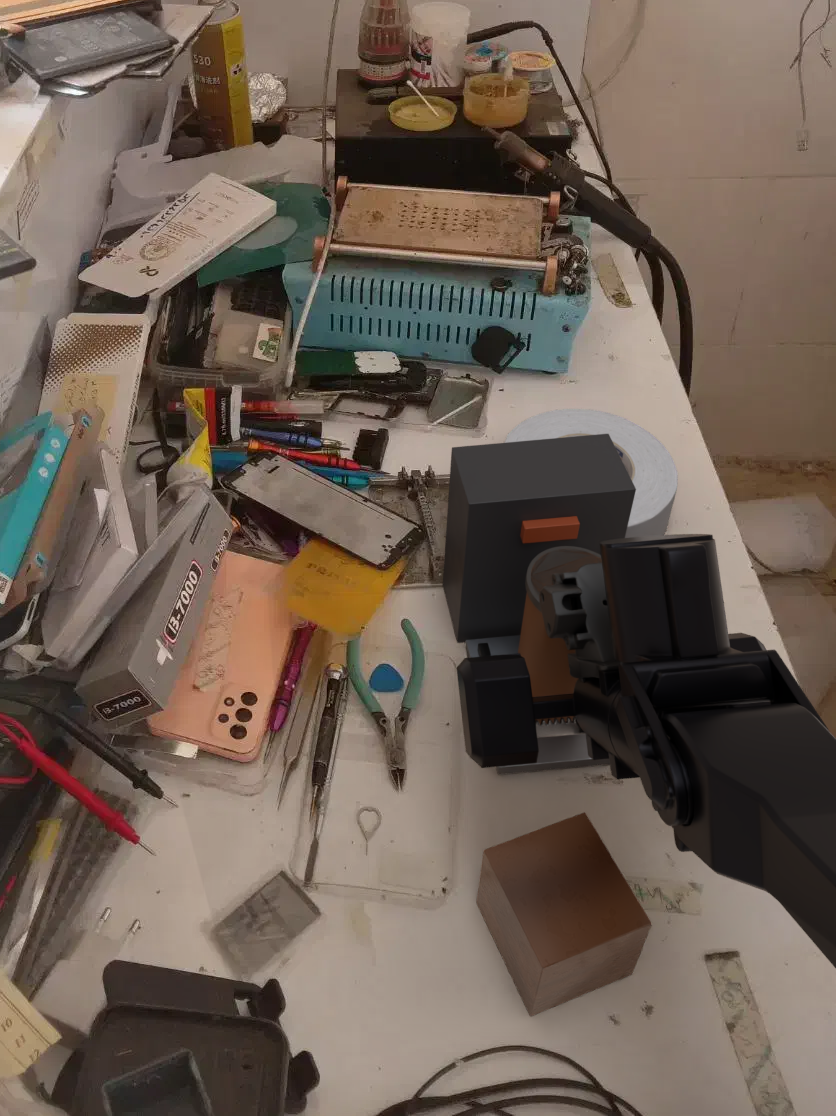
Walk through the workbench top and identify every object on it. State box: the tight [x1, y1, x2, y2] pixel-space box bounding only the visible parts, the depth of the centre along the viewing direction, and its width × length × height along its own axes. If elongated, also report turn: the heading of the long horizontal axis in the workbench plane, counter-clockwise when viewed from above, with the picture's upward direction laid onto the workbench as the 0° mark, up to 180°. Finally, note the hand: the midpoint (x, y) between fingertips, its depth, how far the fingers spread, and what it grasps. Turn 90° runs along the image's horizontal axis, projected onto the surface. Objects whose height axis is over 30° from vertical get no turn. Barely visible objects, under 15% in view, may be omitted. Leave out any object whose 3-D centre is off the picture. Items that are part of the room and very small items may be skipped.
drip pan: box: [464, 635, 610, 775], centre depth 75 cm, size 11×11×2 cm
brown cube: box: [476, 812, 653, 1017], centre depth 61 cm, size 7×7×7 cm
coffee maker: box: [442, 434, 636, 644], centre depth 78 cm, size 7×12×16 cm, turn 94°
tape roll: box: [503, 408, 679, 538], centre depth 90 cm, size 15×15×5 cm
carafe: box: [518, 546, 602, 724], centre depth 72 cm, size 8×6×13 cm
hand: (574, 675), depth 69 cm, fingers open, 9 cm apart
